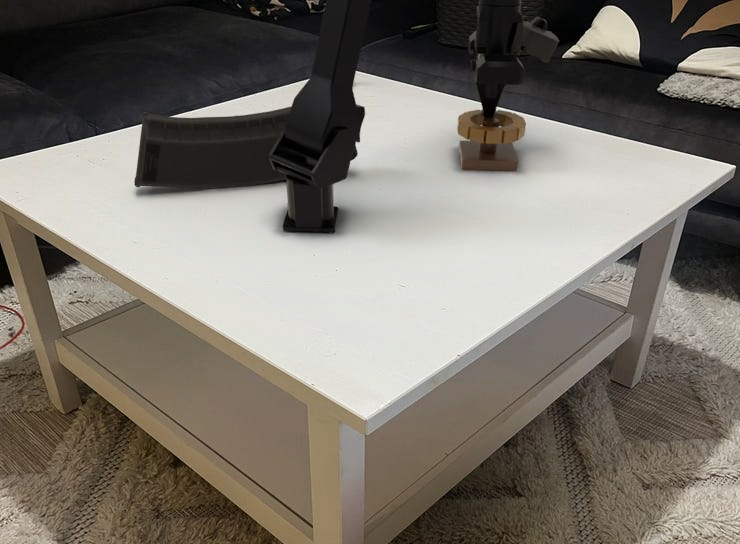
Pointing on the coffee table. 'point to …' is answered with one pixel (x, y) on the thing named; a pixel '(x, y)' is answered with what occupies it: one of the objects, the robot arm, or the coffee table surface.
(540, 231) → the coffee table surface
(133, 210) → the coffee table surface
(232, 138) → the magazine
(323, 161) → the robot arm
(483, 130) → the ring
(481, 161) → the post
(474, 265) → the coffee table surface
